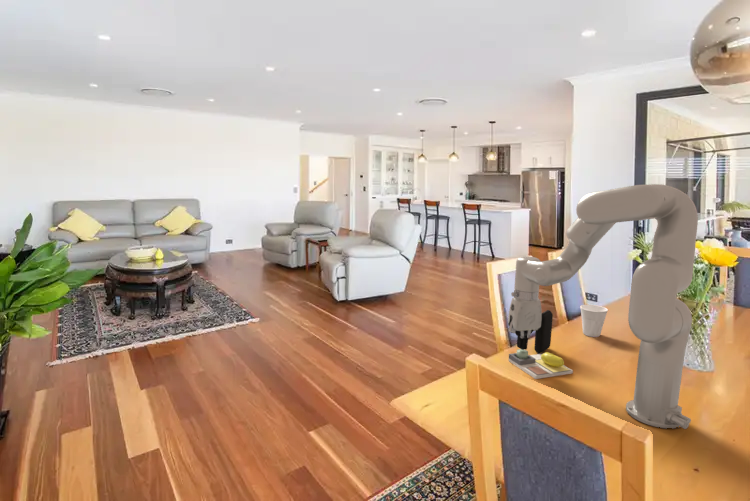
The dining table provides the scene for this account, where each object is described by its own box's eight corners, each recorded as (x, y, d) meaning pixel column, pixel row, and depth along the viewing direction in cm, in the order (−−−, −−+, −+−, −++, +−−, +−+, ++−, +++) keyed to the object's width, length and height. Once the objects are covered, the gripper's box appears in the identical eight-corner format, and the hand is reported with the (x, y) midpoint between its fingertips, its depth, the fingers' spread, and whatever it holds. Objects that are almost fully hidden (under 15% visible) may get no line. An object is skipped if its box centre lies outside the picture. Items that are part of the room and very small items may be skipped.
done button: (530, 358, 142) (530, 352, 141) (520, 359, 141) (521, 353, 140) (523, 354, 145) (523, 348, 145) (514, 355, 144) (514, 349, 144)
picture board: (572, 373, 136) (573, 365, 136) (535, 379, 132) (536, 371, 132) (543, 356, 149) (543, 349, 149) (508, 360, 145) (508, 353, 145)
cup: (611, 337, 168) (614, 310, 166) (592, 340, 165) (595, 312, 163) (590, 329, 177) (592, 303, 176) (572, 332, 174) (574, 305, 172)
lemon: (545, 359, 144) (546, 348, 143) (566, 368, 137) (567, 357, 136) (537, 361, 142) (538, 350, 141) (558, 371, 135) (558, 359, 134)
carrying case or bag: (539, 357, 148) (542, 316, 146) (531, 355, 150) (533, 314, 148) (551, 348, 156) (554, 309, 154) (543, 346, 158) (546, 308, 156)
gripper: (513, 299, 134) (509, 355, 137) (553, 296, 138) (548, 350, 141) (499, 293, 141) (496, 346, 144) (537, 290, 145) (533, 341, 148)
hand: (521, 348), depth 143 cm, fingers closed
